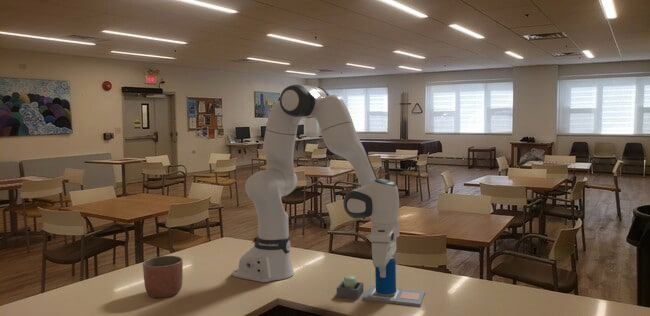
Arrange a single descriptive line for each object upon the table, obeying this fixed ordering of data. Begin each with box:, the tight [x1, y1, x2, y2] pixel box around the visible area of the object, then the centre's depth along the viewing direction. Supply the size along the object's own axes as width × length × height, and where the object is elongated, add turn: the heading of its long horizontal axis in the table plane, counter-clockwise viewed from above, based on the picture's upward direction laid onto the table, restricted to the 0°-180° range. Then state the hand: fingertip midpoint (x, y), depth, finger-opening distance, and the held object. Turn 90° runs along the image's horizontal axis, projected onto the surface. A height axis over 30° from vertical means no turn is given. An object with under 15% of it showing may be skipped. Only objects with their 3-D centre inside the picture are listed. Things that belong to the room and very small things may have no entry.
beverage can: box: [374, 255, 397, 296], centre depth 152 cm, size 6×6×12 cm
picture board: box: [362, 285, 426, 307], centre depth 151 cm, size 18×11×1 cm, turn 71°
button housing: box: [336, 280, 364, 300], centre depth 154 cm, size 7×7×3 cm
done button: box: [343, 275, 357, 289], centre depth 154 cm, size 4×4×4 cm
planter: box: [142, 255, 184, 299], centre depth 156 cm, size 12×12×11 cm
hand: (385, 273), depth 152 cm, fingers closed on beverage can, 6 cm apart
